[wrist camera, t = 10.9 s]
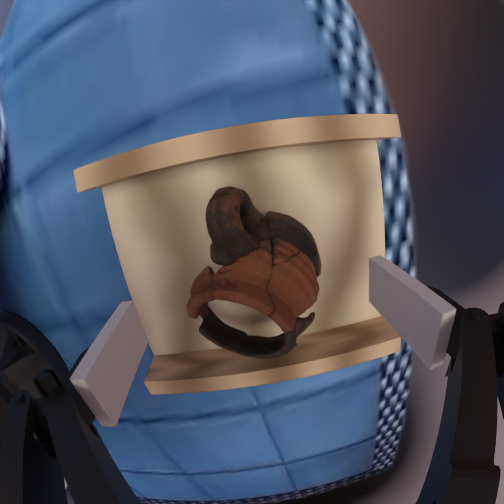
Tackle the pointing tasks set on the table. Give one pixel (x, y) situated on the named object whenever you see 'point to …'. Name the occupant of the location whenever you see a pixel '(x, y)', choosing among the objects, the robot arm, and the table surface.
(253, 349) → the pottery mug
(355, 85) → the table surface
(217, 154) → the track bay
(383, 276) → the robot arm
